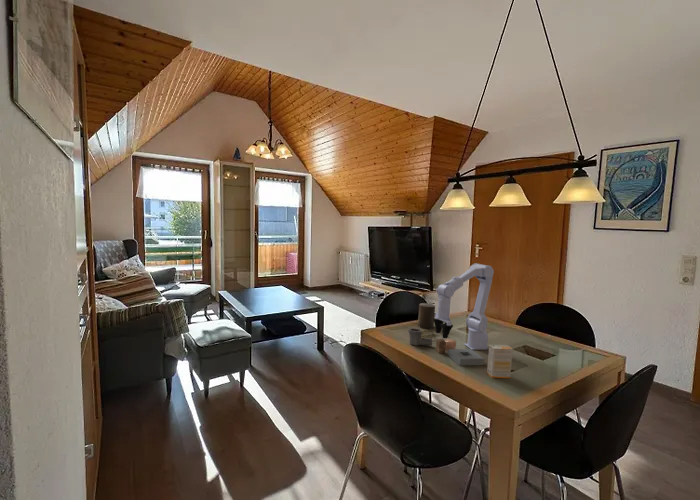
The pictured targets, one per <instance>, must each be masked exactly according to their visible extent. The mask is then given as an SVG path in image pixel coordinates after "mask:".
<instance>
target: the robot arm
mask: <svg viewBox="0 0 700 500" xmlns="http://www.w3.org/2000/svg"><path fill="white" fill-rule="evenodd" d="M494 273H495V270H494V269H493V267H492V266H491V265H487V264H481V263H476V262H475V263H473V264H472V265H470V266H469V268H468V269H467V270H466V271H464V273H462V274H461V275H460V276H453V277H452V278H450V280H449V281H446V282H445V283H442V284H440V285H438V287H437V289H436V293H437V298H438V301H437V312H436V313H435V315H434V318H433V321H434V328H435V333H436V334H441V335H442V339H449V335H450V332H451V331H452V329H453V327H454V325H453V324H452V321H451V318H450V311H451V300H452V299H451V297H454V295H455V293H456V291H458V290H459V289H460V288H462V287H463V286H464V283H465V282H467V281H469V280H470V279H472V278H474V277H475V278H476V279H477V280H478V281H479V286H478V291H477V296H476V298H475V299H476V300H475V304H474V308H473V310H472V311H471V312H470V313H468V316H467V318H466V321H465V325H466V327H467V329H468V336H467V342H464V345H465V347H467V348H468V349H472V350H473V351H475V350H478V351H479V350H489V347H488V346H489V343H488V342H489V334H488V331H486V330H487V329H488V316H486V314H485V313H486V312H485V311H486V309H487V305H488V299H489V296H490V292H491V287H492V282H493V278H494V277H493V276H494Z"/></svg>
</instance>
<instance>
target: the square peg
mask: <svg viewBox="0 0 700 500" xmlns="http://www.w3.org/2000/svg"><path fill="white" fill-rule="evenodd" d="M435 345H436V346H435V352H436V353H438V354H446V351H445V348H446V341H445V339H444V338H439V339H438V338H436V343H435Z"/></svg>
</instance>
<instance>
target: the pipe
mask: <svg viewBox="0 0 700 500" xmlns="http://www.w3.org/2000/svg"><path fill="white" fill-rule="evenodd" d="M407 331H408V336H409V344H410V345H412V346H417V347H418V346H425V347H426V346H430V347H431V346H433V339H432V338H430V337H429V338H428V337H426V338H425V337H422V333H423V330H421V329H419V328H416V327H415V328H413V327H412V328H408V329H407Z"/></svg>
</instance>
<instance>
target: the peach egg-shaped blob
mask: <svg viewBox="0 0 700 500" xmlns="http://www.w3.org/2000/svg"><path fill="white" fill-rule="evenodd" d="M444 340H445V341H446V348H445V352H447V353H448V349H457V341H456V340H455V339H452V338H444Z"/></svg>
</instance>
